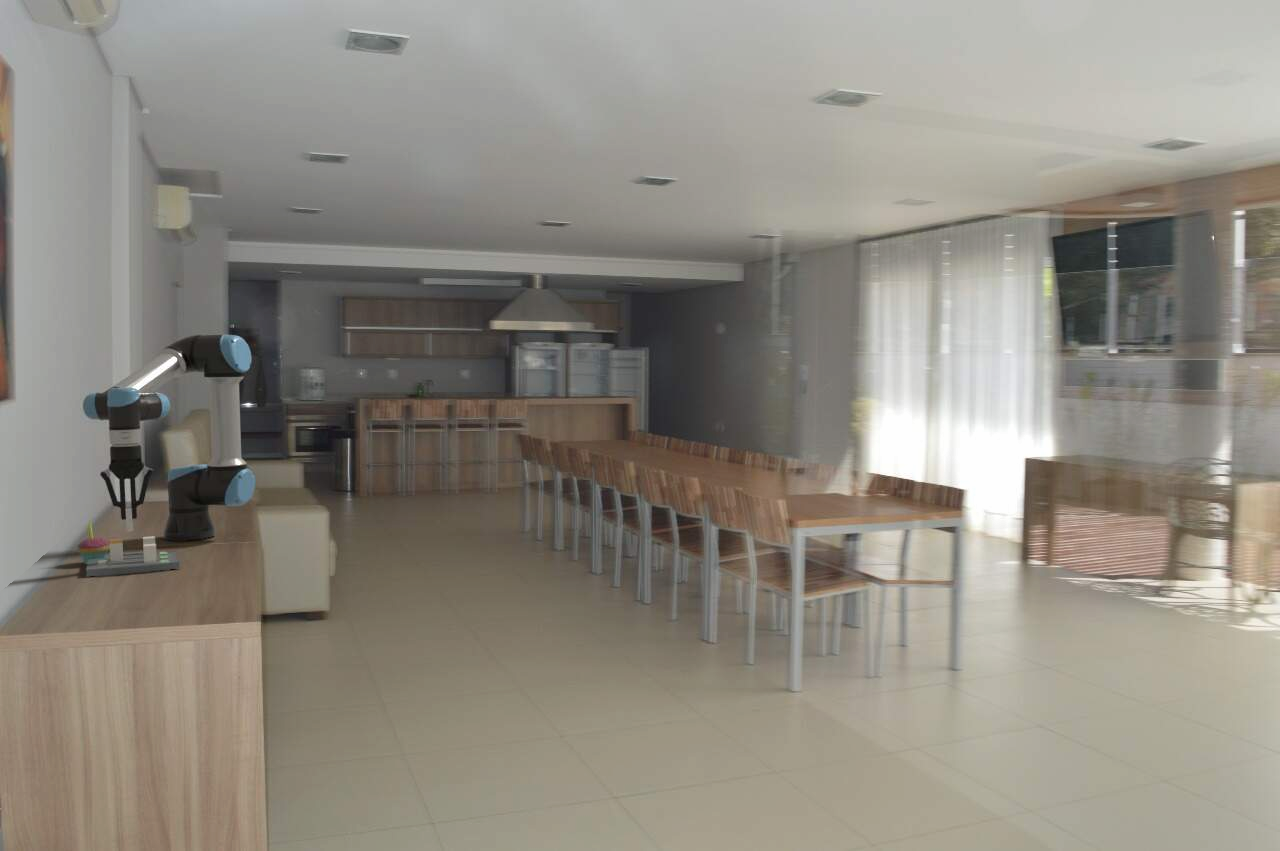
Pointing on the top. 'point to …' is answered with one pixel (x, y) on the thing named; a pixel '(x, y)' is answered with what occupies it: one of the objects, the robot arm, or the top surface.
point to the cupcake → (93, 547)
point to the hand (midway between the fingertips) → (129, 530)
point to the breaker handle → (116, 550)
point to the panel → (134, 561)
